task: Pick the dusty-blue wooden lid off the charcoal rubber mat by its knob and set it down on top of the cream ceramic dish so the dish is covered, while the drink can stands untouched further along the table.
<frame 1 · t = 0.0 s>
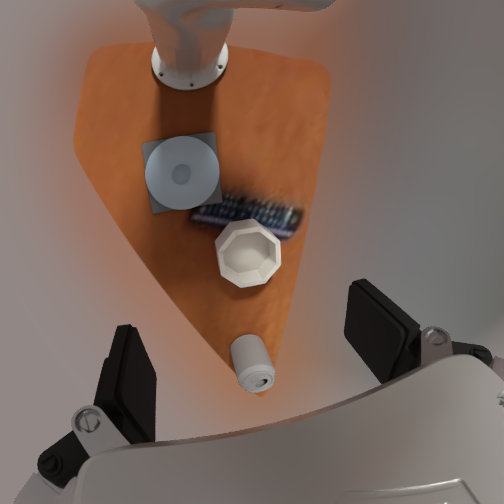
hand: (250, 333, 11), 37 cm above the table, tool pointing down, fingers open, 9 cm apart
mat: (182, 172, 42), on the table
can: (245, 344, 58), on the table
lid: (182, 172, 42), point 1 cm above the table, touching mat
dish: (244, 247, 50), on the table
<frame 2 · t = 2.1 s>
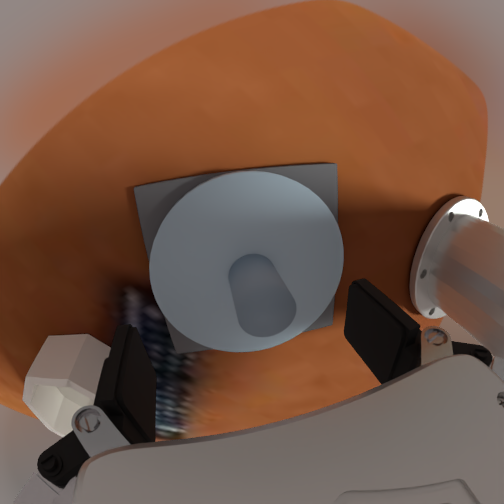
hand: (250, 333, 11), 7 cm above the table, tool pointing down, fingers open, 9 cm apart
mat: (247, 264, 17), on the table
lid: (249, 268, 17), point 1 cm above the table, touching mat
dish: (92, 379, 19), on the table
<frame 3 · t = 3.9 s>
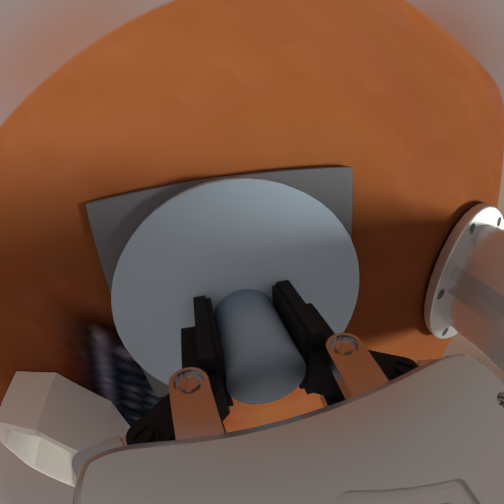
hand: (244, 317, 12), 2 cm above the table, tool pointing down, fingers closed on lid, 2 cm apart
mat: (237, 298, 14), on the table
lid: (240, 304, 13), point 1 cm above the table, touching gripper, mat
dish: (69, 416, 14), on the table
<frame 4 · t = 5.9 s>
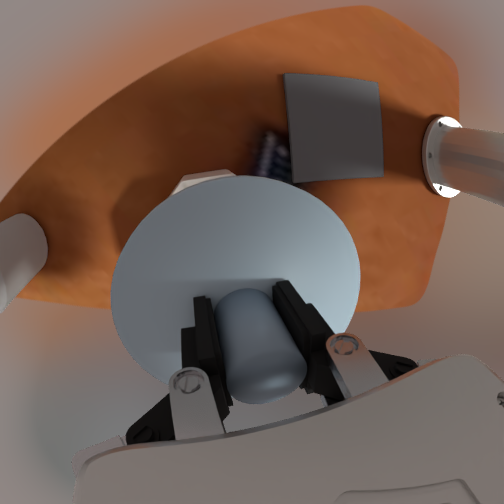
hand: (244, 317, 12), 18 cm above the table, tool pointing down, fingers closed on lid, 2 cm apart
mat: (338, 126, 27), on the table
can: (28, 241, 24), on the table
lid: (240, 303, 13), point 17 cm above the table, touching gripper
dish: (211, 221, 28), on the table
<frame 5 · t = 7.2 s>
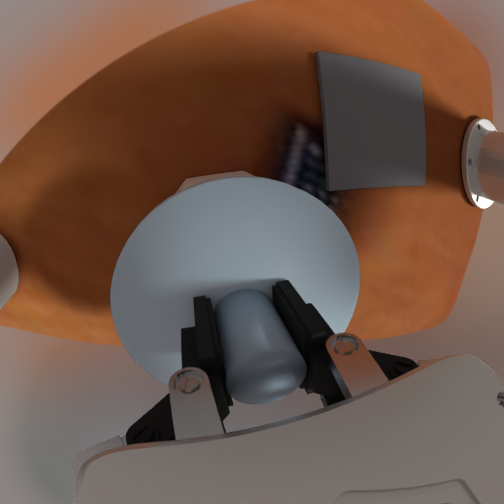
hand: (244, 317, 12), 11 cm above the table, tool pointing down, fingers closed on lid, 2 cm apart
mat: (379, 122, 20), on the table
lid: (240, 304, 13), point 9 cm above the table, touching gripper
dish: (222, 239, 22), on the table
when the fingers open (8 cm above the table, at t = 8.4 s): lid drops 1 cm, resting on dish.
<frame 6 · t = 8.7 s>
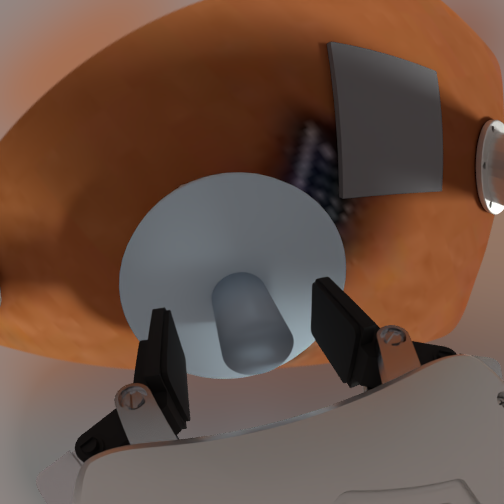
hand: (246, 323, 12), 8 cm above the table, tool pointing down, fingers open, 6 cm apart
mat: (395, 122, 18), on the table
lid: (236, 287, 14), point 5 cm above the table, touching dish
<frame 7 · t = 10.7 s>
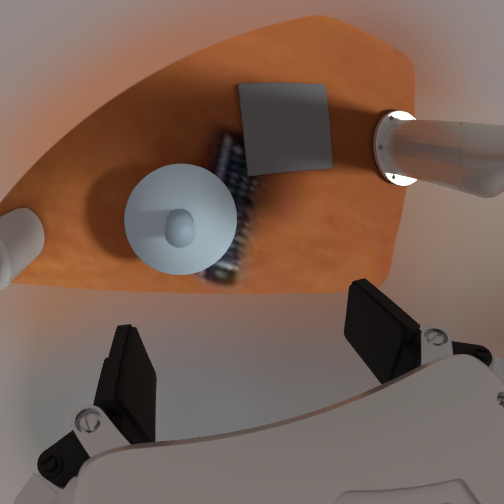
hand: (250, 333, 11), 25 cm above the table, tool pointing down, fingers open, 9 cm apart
mat: (287, 126, 32), on the table
can: (27, 231, 28), on the table
lid: (180, 219, 28), point 5 cm above the table, touching dish
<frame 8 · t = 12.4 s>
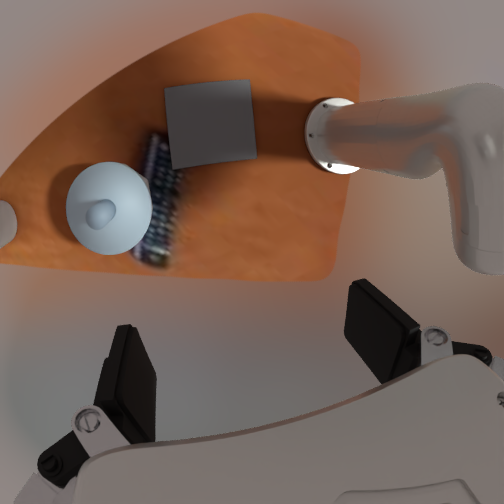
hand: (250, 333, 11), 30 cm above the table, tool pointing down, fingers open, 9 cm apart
mat: (210, 122, 34), on the table
can: (5, 220, 31), on the table
lid: (108, 208, 31), point 5 cm above the table, touching dish
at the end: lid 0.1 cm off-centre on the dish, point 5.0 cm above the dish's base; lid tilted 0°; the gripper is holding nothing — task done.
